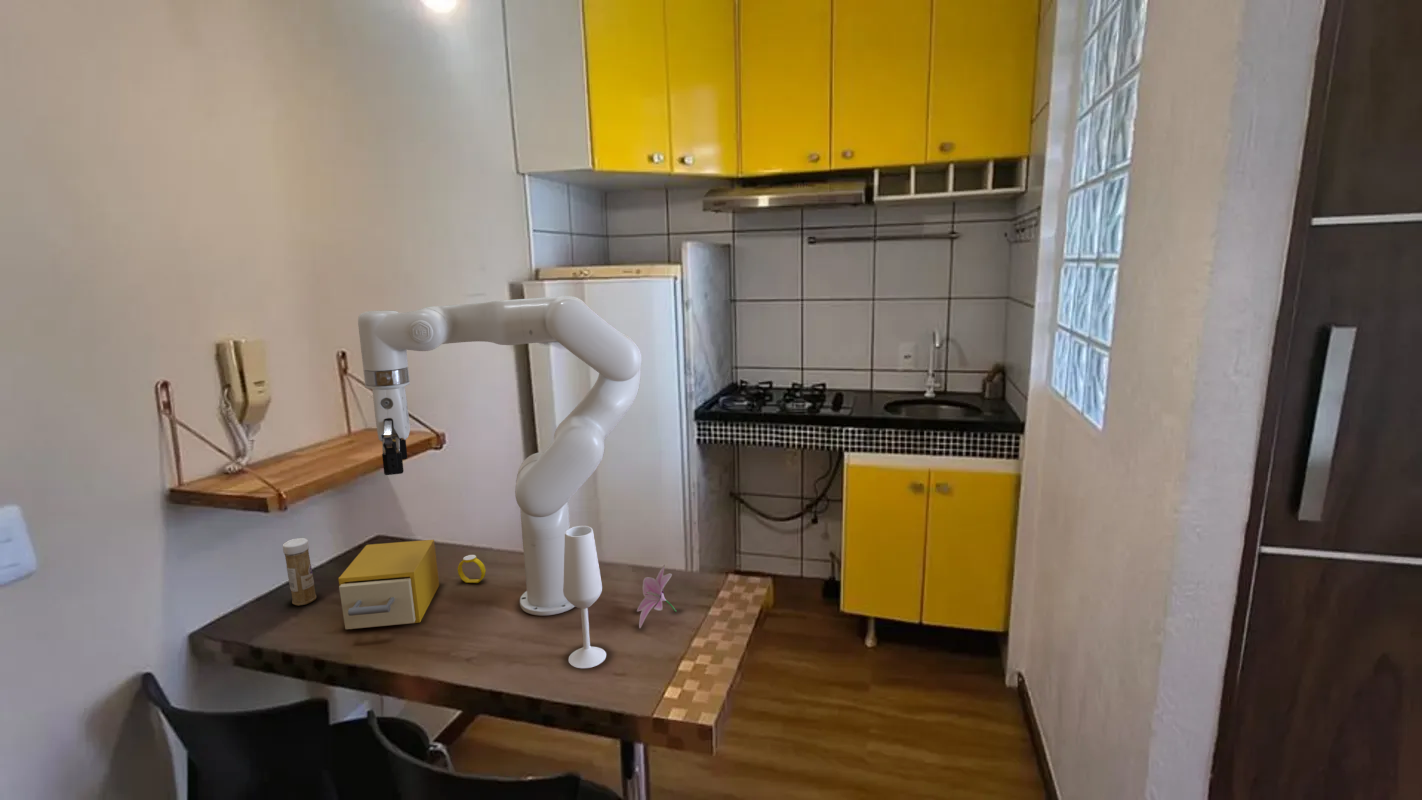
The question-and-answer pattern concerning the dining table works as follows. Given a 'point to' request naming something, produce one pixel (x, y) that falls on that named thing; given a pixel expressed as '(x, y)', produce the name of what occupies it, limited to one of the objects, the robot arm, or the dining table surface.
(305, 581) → the sprinkles bottle
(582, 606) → the champagne flute
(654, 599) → the lily
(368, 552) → the cabinet
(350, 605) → the drawer
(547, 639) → the dining table surface
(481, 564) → the watch
